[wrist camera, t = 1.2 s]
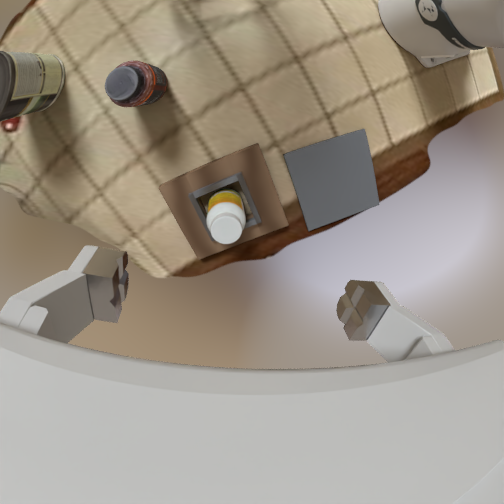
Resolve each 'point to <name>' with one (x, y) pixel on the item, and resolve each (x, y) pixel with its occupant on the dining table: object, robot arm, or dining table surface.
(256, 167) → the walnut stand
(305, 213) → the slate mat
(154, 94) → the supplement bottle
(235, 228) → the supplement bottle
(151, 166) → the dining table surface
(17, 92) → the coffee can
